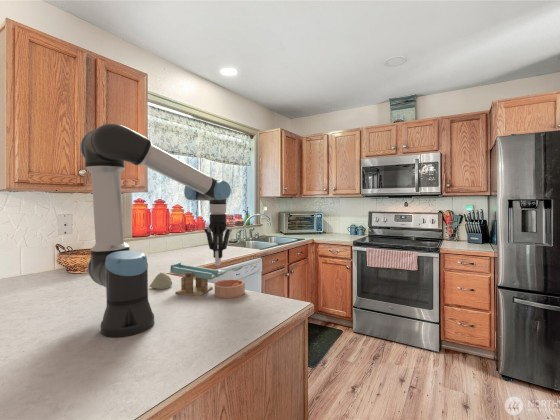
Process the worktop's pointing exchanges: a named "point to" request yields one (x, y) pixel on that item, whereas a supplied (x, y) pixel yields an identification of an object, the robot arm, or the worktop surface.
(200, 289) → the stand
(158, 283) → the seashell
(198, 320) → the worktop surface
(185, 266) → the lever
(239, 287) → the bowl
